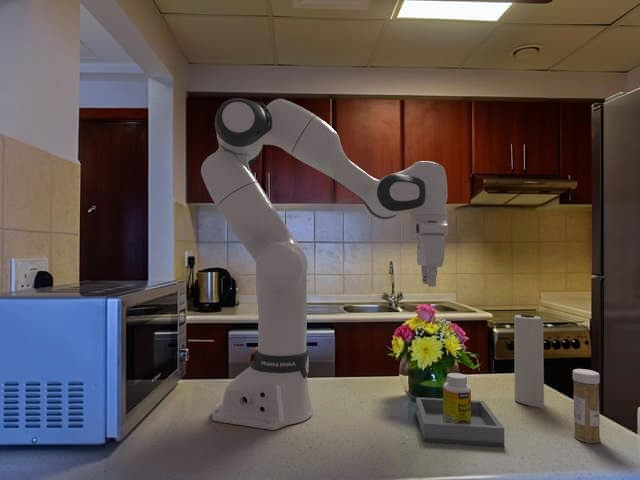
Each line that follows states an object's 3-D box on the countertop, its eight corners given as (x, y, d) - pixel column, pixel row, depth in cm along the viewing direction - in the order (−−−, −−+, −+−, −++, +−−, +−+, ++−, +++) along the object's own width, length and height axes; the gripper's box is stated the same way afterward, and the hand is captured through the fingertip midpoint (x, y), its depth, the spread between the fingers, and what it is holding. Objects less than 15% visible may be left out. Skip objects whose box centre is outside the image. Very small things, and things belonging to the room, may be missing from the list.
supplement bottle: (458, 432, 84) (458, 380, 84) (437, 422, 88) (437, 374, 89) (476, 426, 87) (476, 376, 87) (455, 417, 91) (455, 370, 92)
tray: (423, 441, 81) (423, 423, 81) (415, 412, 96) (415, 397, 96) (504, 447, 79) (504, 428, 79) (483, 416, 94) (483, 400, 94)
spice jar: (603, 445, 80) (603, 375, 81) (577, 442, 82) (576, 373, 82) (596, 436, 84) (595, 369, 85) (570, 433, 86) (569, 367, 86)
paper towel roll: (513, 396, 108) (513, 313, 108) (540, 399, 106) (539, 315, 106) (515, 405, 101) (515, 317, 102) (544, 409, 99) (543, 319, 100)
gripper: (411, 230, 113) (411, 281, 112) (420, 225, 92) (420, 287, 92) (435, 230, 112) (435, 282, 111) (449, 225, 92) (449, 288, 91)
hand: (428, 284), depth 101 cm, fingers open, 8 cm apart
